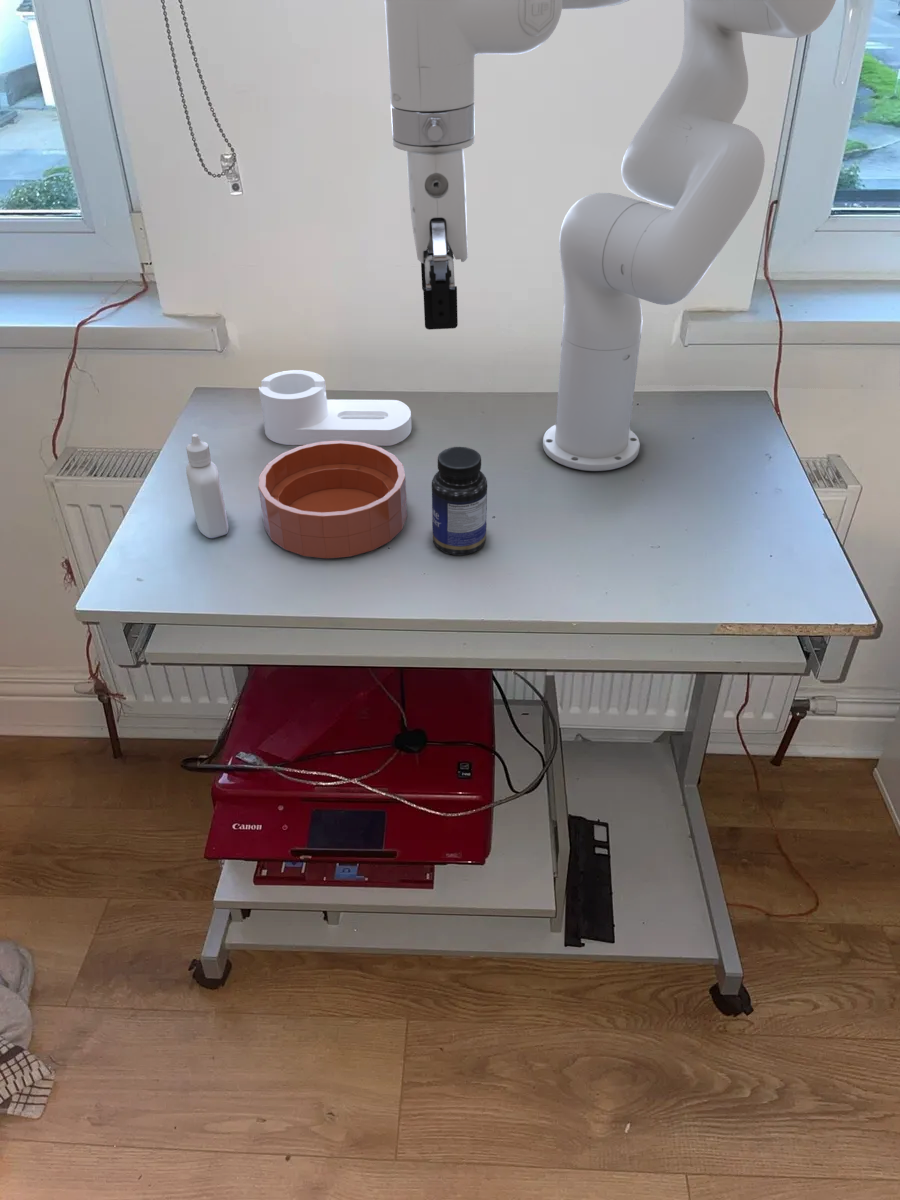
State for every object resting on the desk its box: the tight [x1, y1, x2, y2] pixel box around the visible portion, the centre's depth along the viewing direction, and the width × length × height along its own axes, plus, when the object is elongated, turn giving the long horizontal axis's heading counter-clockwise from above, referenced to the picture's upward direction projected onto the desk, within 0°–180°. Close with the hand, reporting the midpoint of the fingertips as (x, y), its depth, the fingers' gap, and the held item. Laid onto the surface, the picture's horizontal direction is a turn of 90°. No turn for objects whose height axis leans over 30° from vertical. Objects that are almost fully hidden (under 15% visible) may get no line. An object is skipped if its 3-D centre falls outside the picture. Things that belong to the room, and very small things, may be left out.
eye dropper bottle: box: [185, 433, 230, 539], centre depth 107 cm, size 4×6×12 cm
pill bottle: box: [431, 446, 488, 556], centre depth 105 cm, size 6×6×11 cm
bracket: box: [258, 369, 412, 447], centre depth 127 cm, size 20×9×7 cm, turn 88°
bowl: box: [257, 440, 408, 559], centre depth 110 cm, size 17×17×6 cm
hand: (439, 308), depth 96 cm, fingers open, 9 cm apart
